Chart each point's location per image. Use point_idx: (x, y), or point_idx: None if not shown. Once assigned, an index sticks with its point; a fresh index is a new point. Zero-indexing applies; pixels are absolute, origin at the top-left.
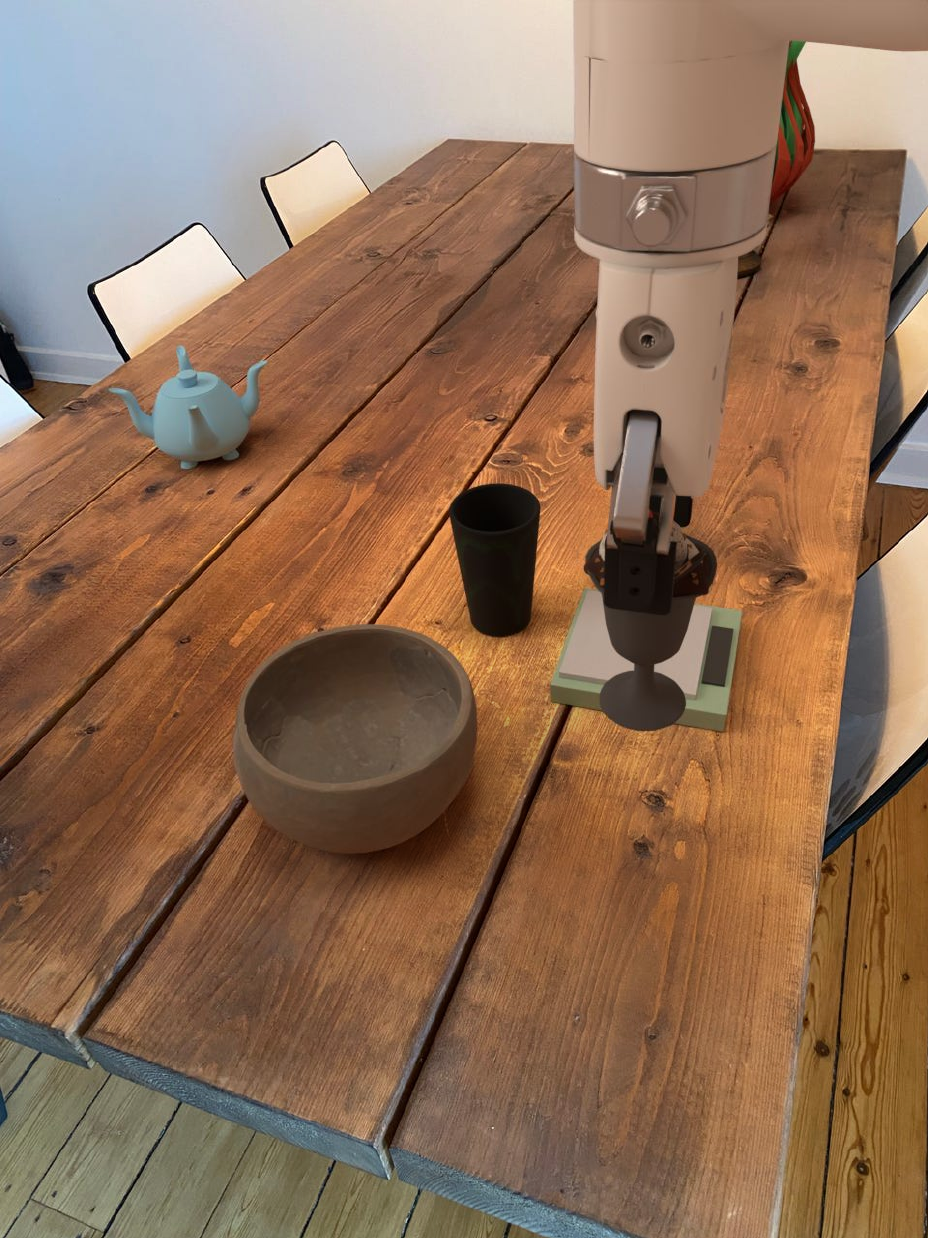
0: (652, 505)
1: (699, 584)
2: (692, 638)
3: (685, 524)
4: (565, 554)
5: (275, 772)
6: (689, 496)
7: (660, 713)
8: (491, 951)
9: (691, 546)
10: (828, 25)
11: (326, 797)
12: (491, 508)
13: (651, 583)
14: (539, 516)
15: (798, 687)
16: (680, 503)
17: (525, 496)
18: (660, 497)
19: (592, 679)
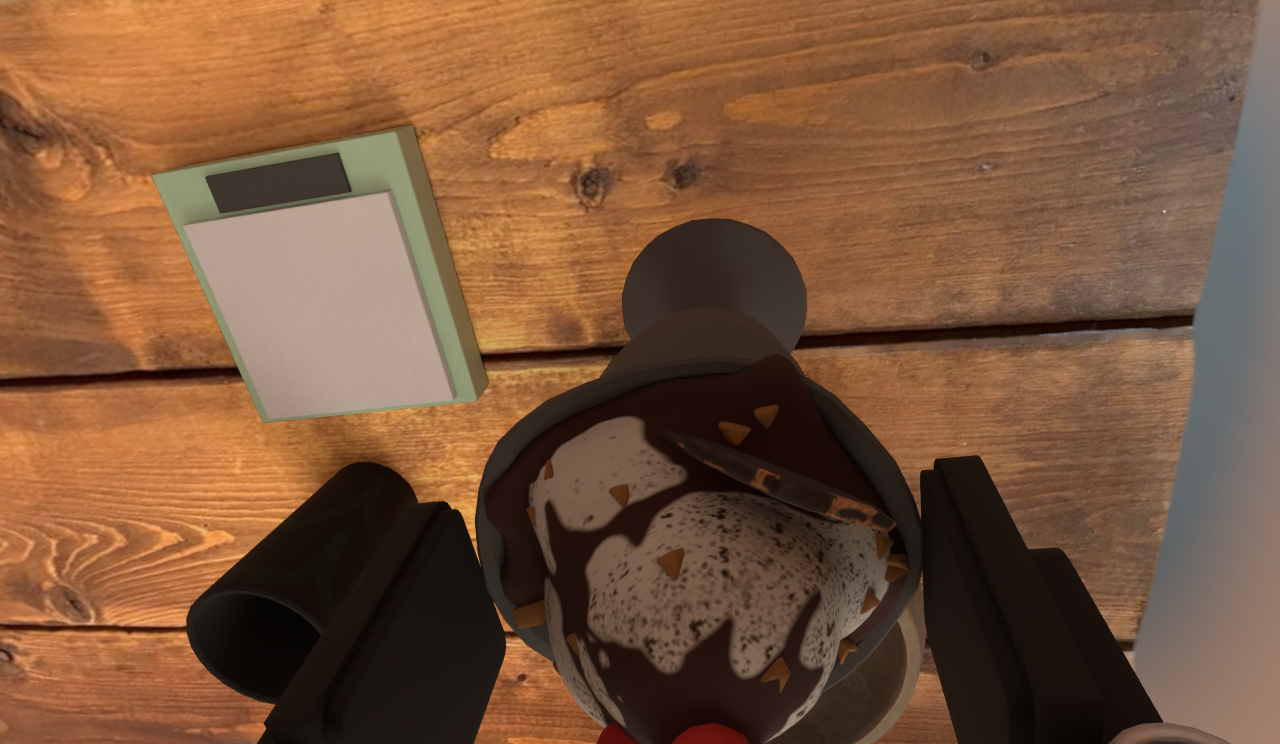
0: (468, 657)
1: (772, 399)
2: (270, 235)
3: (453, 514)
4: (200, 464)
5: (908, 694)
6: (405, 598)
7: (753, 264)
8: (920, 305)
9: (619, 490)
10: None
11: (918, 621)
12: (245, 636)
13: (1110, 631)
14: (230, 579)
15: (248, 30)
16: (427, 594)
17: (200, 615)
18: (445, 666)
19: (440, 350)
